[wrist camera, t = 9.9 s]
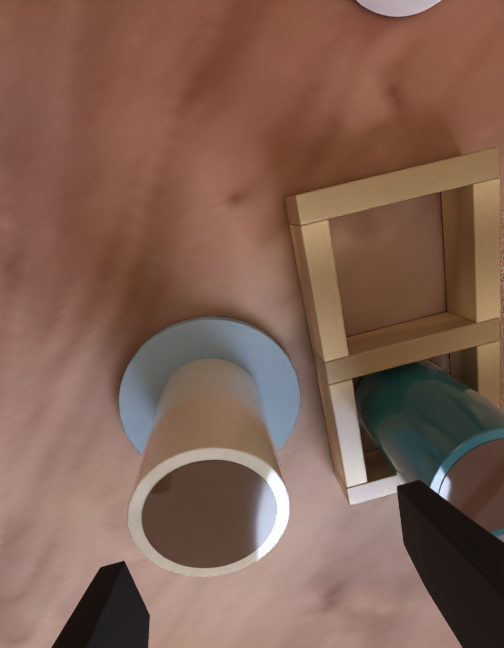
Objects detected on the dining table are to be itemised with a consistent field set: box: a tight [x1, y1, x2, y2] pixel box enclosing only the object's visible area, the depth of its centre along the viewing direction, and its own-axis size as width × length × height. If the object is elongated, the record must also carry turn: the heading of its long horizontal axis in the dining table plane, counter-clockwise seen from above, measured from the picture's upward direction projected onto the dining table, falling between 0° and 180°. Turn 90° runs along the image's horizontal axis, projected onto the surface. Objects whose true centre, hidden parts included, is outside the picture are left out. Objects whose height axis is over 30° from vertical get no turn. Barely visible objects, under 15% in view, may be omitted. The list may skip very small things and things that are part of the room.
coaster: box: [119, 316, 300, 455], centre depth 18 cm, size 9×9×1 cm
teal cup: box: [355, 359, 504, 537], centre depth 16 cm, size 5×5×7 cm
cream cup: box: [127, 358, 290, 577], centre depth 15 cm, size 5×5×7 cm
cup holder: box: [285, 147, 500, 505], centre depth 18 cm, size 16×9×2 cm, turn 13°
